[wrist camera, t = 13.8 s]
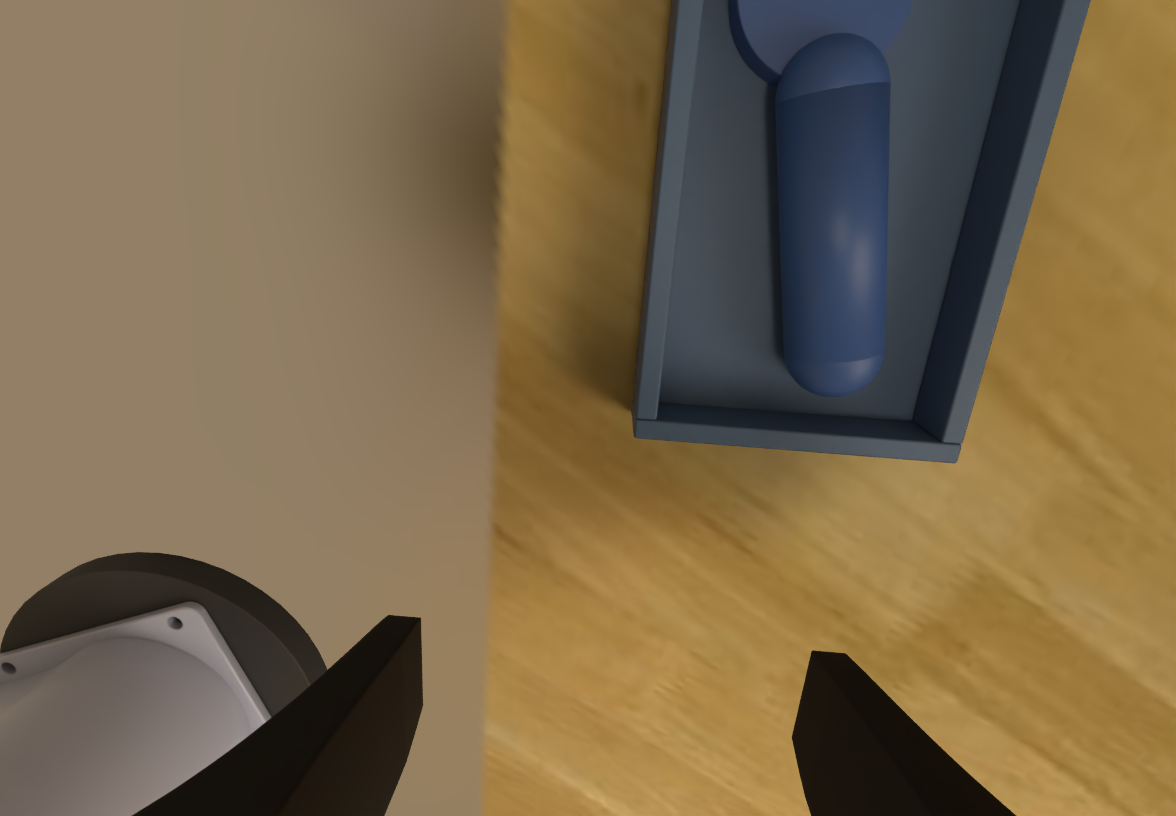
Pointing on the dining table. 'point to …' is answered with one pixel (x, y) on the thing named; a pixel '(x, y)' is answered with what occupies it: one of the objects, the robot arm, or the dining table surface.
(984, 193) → the tray
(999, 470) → the dining table surface
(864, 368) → the blue spoon
